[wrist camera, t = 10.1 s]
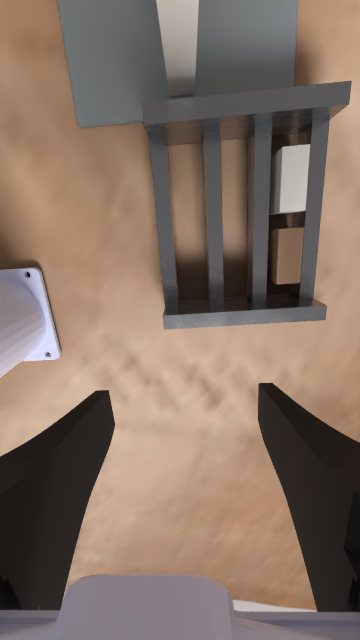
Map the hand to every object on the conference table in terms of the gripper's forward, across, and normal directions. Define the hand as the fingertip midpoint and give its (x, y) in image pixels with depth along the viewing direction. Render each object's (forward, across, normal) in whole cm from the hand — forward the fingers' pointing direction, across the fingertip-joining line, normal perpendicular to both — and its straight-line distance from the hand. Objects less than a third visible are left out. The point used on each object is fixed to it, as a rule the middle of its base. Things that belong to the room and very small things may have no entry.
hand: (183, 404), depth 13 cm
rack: (+10, -4, -8) cm, 14 cm away
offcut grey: (+11, -7, -10) cm, 16 cm away
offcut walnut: (+11, -7, -6) cm, 14 cm away
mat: (+10, -1, -20) cm, 23 cm away
